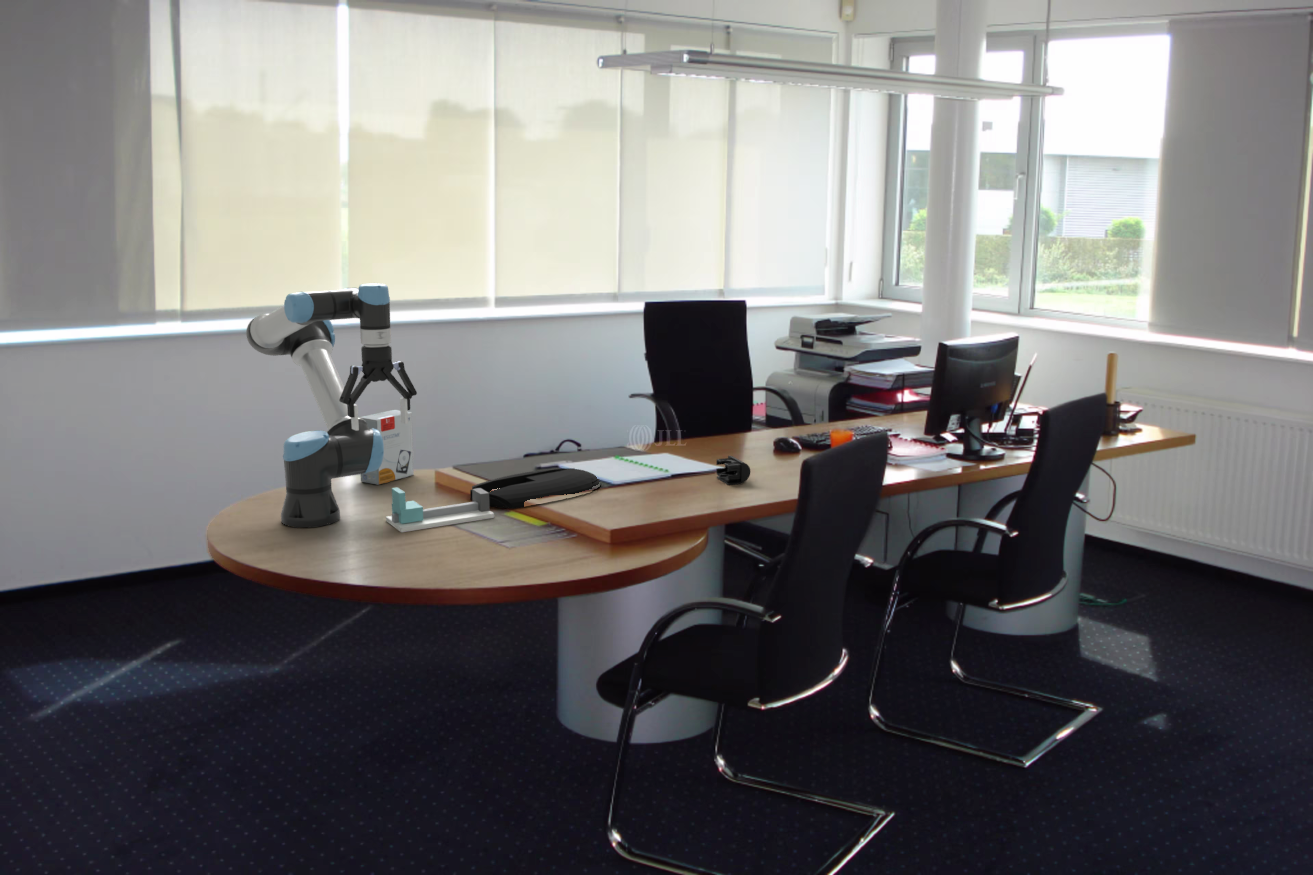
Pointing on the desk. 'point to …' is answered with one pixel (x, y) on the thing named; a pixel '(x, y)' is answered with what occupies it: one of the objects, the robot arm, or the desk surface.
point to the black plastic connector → (732, 471)
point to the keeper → (405, 507)
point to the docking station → (536, 486)
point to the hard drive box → (392, 447)
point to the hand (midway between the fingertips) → (380, 426)
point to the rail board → (449, 514)
